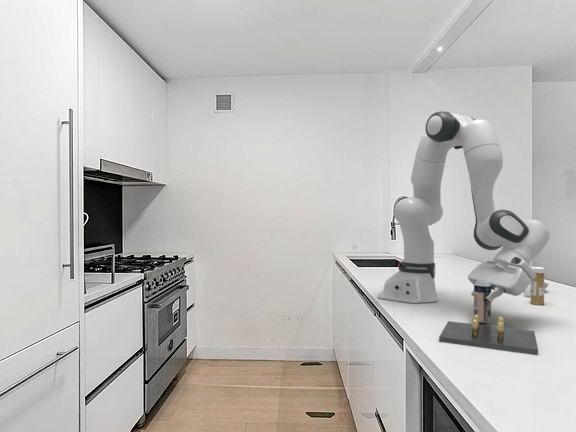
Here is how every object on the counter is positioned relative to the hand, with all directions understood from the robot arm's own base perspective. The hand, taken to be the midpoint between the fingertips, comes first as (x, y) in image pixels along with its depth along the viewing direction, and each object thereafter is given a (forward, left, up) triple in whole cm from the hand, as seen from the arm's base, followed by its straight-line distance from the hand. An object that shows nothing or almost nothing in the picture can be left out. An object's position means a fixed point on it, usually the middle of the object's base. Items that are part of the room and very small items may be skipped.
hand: (480, 297), depth 128 cm
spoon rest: (+16, +65, -8) cm, 67 cm away
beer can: (0, 0, -7) cm, 7 cm away
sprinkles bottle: (+17, +40, -8) cm, 44 cm away
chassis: (+3, -16, -8) cm, 18 cm away
